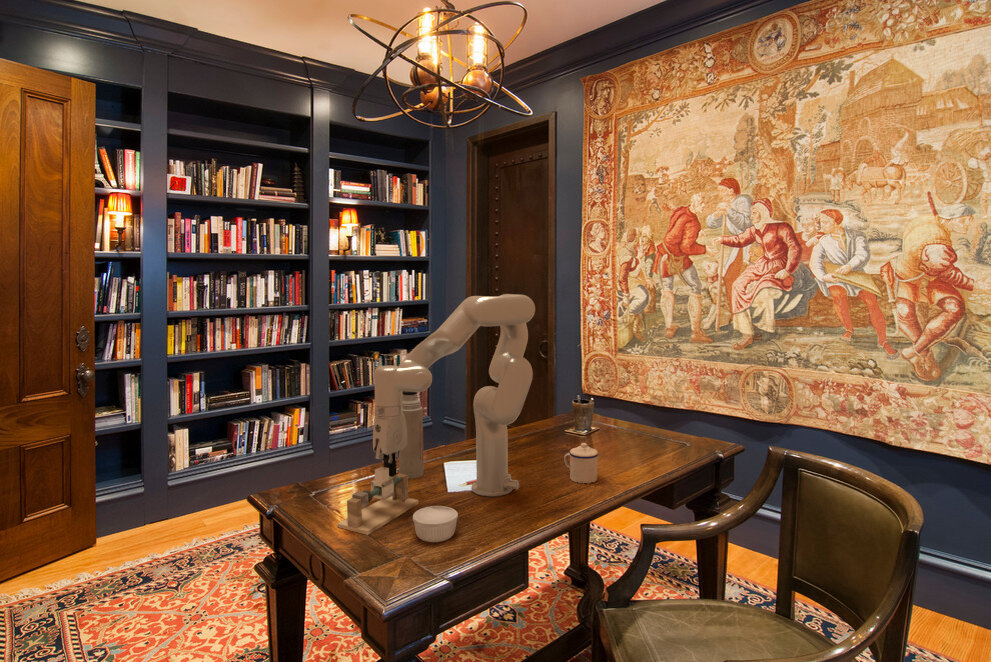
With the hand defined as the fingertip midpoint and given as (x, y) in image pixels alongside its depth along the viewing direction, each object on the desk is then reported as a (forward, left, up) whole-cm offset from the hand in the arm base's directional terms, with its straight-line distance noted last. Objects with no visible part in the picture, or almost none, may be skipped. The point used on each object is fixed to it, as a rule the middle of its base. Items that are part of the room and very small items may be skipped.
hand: (390, 475), depth 153 cm
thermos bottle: (+11, -25, -10) cm, 29 cm away
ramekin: (-20, +8, -10) cm, 24 cm away
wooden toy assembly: (0, +5, -10) cm, 11 cm away
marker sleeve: (0, +4, -5) cm, 6 cm away
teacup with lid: (-40, -46, -10) cm, 62 cm away
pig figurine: (+11, -11, -10) cm, 18 cm away
